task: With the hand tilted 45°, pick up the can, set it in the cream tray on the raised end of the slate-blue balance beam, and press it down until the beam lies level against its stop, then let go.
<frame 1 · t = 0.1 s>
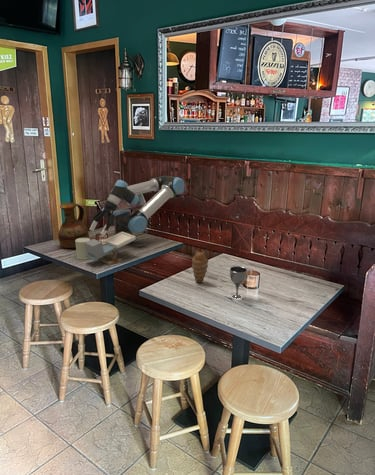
hand: (96, 232, 235), 15 cm above the table, tool tilted 35°, fingers open, 13 cm apart
pivot stand: (109, 260, 232), on the table
can: (84, 257, 236), on the table
wine glass: (236, 297, 185), on the table
balance beam: (108, 242, 229), point 12 cm above the table, hinge at 12.0°
brown tapered piece: (199, 282, 202), on the table
ceramic pitcher: (74, 245, 258), on the table
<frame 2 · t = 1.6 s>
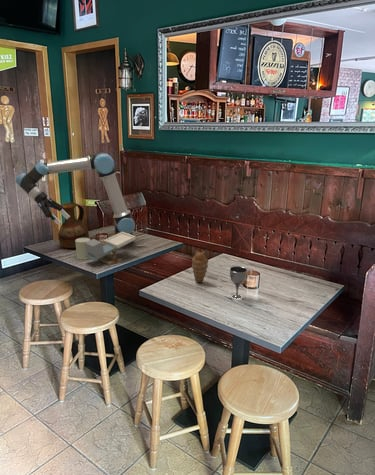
hand: (64, 220, 230), 23 cm above the table, tool tilted 45°, fingers open, 13 cm apart
nothing on the table moved.
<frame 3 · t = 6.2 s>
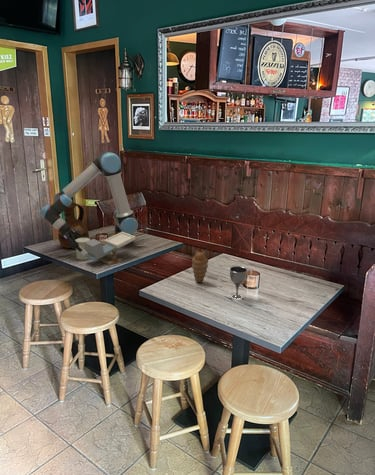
hand: (88, 251, 235), 4 cm above the table, tool tilted 45°, fingers closed on can, 9 cm apart
can: (84, 257, 236), on the table, touching gripper
everything else where it was.
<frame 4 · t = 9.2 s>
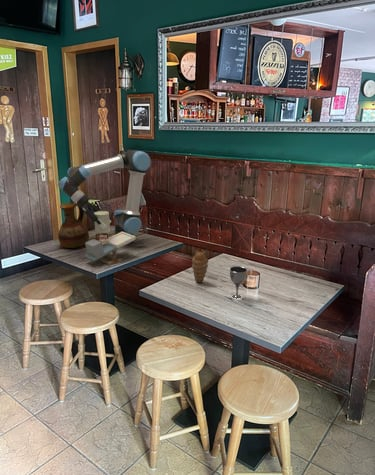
hand: (107, 225, 229), 21 cm above the table, tool tilted 45°, fingers closed on can, 9 cm apart
can: (102, 231, 231), point 17 cm above the table, touching gripper
everything else where it was.
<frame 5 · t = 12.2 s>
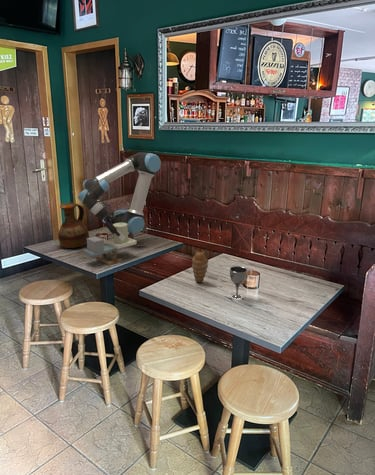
hand: (125, 236, 234), 13 cm above the table, tool tilted 45°, fingers closed on can, 9 cm apart
can: (121, 242, 235), point 10 cm above the table, touching balance beam, gripper
balance beam: (109, 242, 229), point 12 cm above the table, hinge at 0.6°, touching can
everything else where it was.
when the fingers open (13 cm above the table, at t = 12.2 s): can stays where it is, resting on balance beam.
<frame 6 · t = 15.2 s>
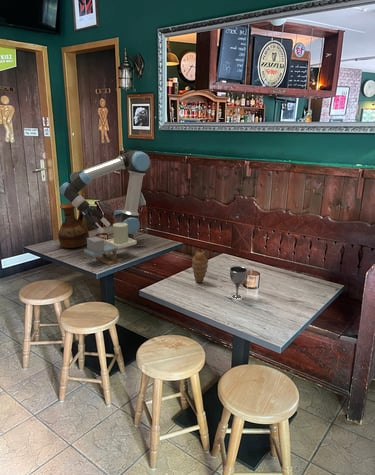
hand: (105, 228, 233), 18 cm above the table, tool tilted 45°, fingers open, 13 cm apart
can: (121, 242, 235), point 9 cm above the table, touching balance beam
everything else where it was.
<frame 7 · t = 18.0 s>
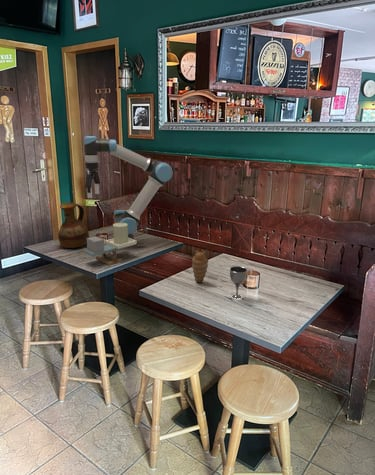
hand: (93, 195, 238), 37 cm above the table, tool pointing down, fingers open, 13 cm apart
nothing on the table moved.
at the end: balance beam at +0° (first picture: +12°); can inside the target area on the balance beam (0.2 cm from its centre), point 1.4 cm above the balance beam's base; can tilted 1° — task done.
